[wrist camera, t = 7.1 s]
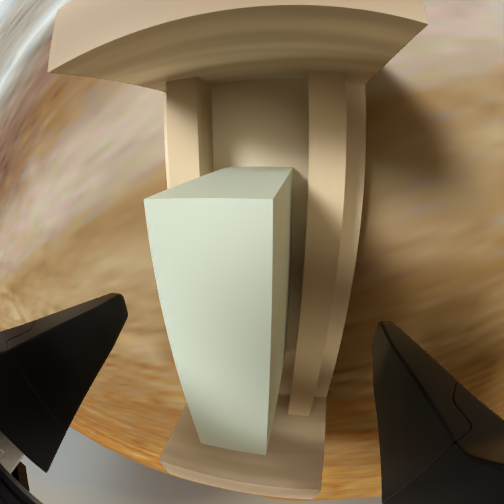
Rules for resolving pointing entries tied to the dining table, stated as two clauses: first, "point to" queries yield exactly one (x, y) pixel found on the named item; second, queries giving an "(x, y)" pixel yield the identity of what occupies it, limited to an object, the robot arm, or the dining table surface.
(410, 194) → the dining table surface
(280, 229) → the pale green rectangular block
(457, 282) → the dining table surface
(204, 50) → the wooden u-shaped holder
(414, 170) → the dining table surface
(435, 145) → the dining table surface
